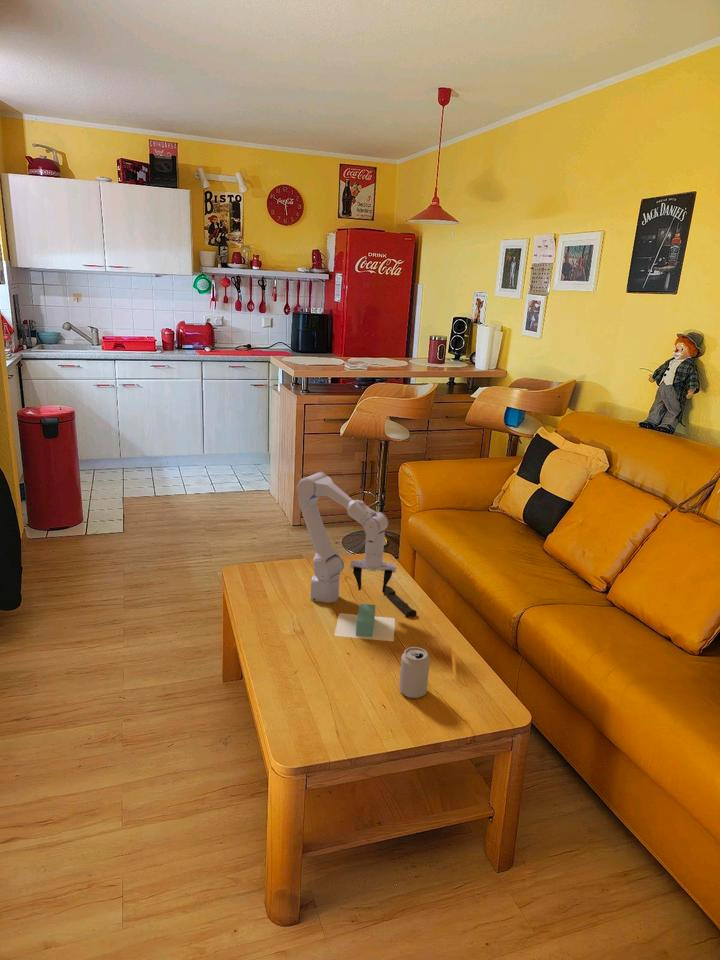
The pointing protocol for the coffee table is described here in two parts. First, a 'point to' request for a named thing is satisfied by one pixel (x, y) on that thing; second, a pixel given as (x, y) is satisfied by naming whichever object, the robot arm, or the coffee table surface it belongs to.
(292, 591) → the coffee table surface
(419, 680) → the can
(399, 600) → the hand tool
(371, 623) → the block
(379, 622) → the board
